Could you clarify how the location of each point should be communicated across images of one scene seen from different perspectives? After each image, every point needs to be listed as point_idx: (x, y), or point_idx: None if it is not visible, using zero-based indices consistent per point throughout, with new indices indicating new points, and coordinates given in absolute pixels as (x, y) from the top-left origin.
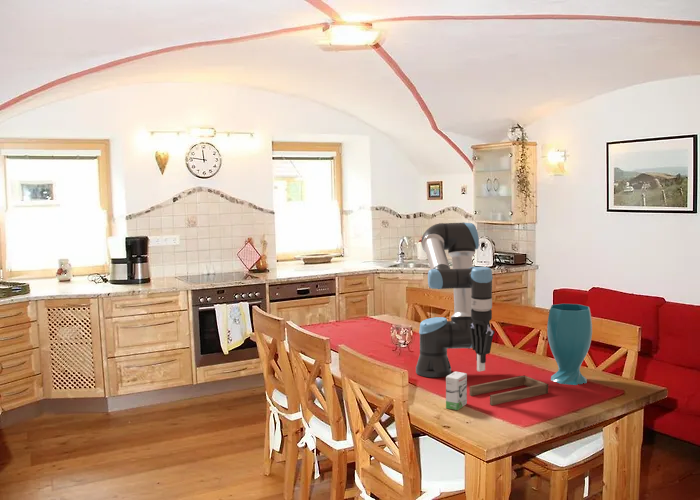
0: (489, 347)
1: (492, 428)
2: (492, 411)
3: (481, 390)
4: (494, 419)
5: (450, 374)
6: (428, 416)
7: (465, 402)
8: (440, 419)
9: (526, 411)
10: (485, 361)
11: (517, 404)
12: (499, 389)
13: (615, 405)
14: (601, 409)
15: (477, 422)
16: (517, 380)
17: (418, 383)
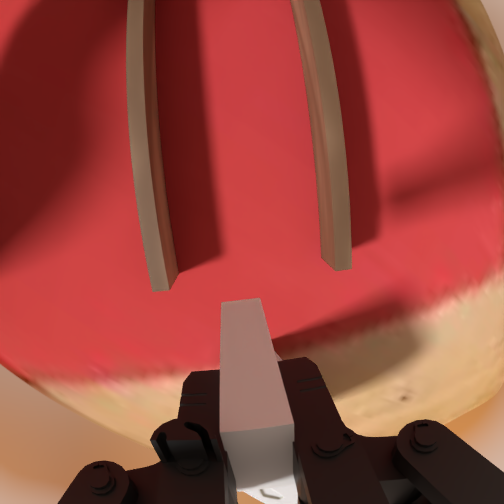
0: (500, 499)
1: (468, 352)
2: (388, 290)
3: (164, 213)
4: (438, 320)
5: (268, 501)
6: None
7: (277, 358)
8: None
9: (442, 167)
10: (316, 369)
11: (372, 141)
12: (156, 96)
13: None
14: None
15: (423, 374)
16: None
17: (12, 363)
